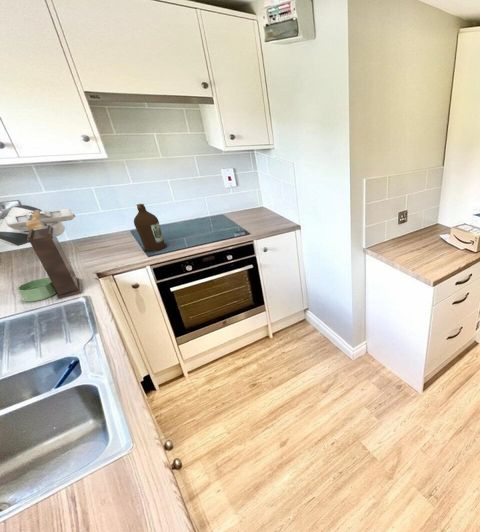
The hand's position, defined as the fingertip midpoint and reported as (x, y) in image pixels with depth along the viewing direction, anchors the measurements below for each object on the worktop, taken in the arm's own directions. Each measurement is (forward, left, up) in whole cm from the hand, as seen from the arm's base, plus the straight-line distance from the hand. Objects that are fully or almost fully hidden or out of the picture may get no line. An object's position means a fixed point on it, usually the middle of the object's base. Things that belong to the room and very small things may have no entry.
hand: (36, 213), depth 133 cm
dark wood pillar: (0, -13, -31) cm, 34 cm away
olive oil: (+36, +15, -31) cm, 50 cm away
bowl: (-9, -12, -31) cm, 35 cm away
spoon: (0, -7, -1) cm, 7 cm away
